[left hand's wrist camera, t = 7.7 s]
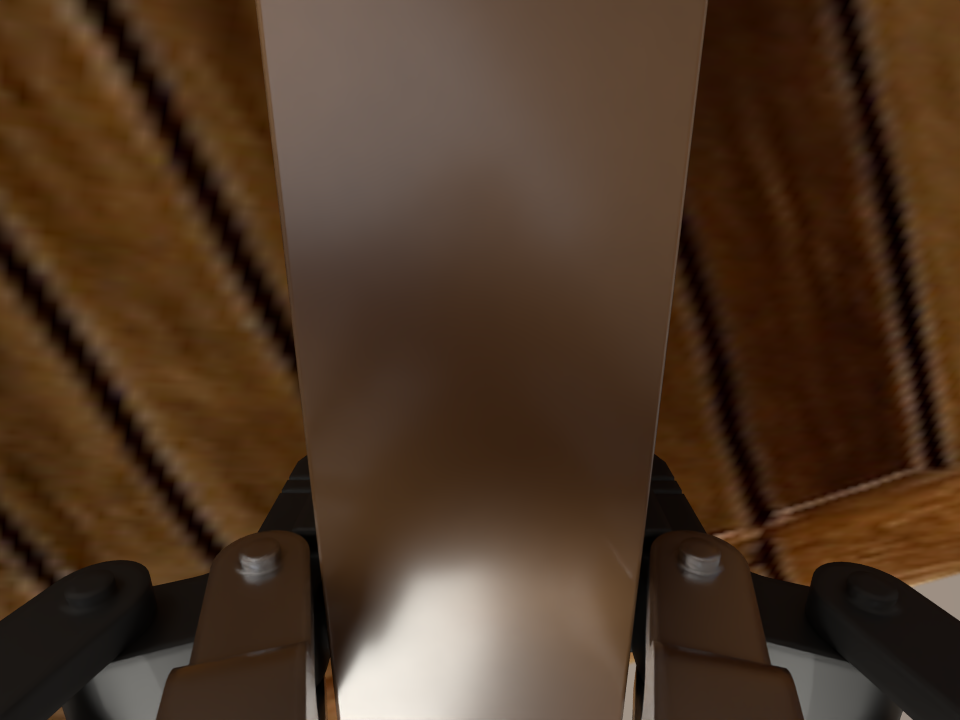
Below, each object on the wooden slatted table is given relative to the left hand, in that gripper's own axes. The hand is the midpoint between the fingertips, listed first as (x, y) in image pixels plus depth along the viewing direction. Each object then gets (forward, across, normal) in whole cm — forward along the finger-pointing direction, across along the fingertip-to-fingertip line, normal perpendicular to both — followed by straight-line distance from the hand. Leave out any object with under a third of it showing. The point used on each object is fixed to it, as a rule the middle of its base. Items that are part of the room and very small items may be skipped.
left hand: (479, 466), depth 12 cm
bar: (+2, 0, -21) cm, 21 cm away
